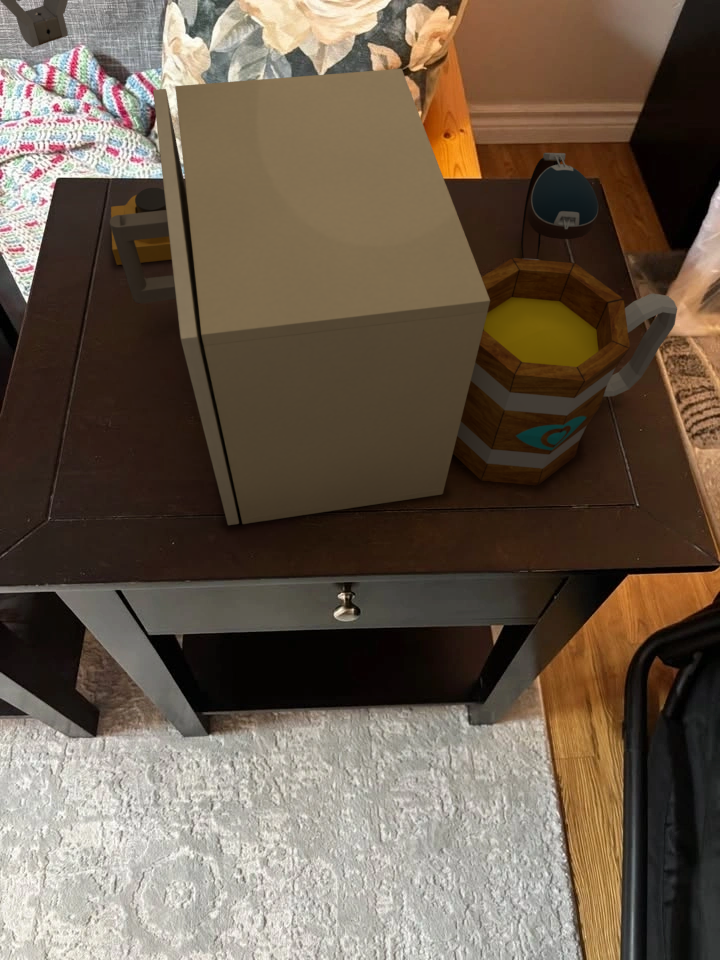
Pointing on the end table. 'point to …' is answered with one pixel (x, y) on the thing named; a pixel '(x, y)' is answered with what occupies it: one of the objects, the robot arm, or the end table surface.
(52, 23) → the robot arm
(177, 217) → the door
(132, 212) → the switch box
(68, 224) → the end table surface
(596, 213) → the headphones
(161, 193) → the button
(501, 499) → the end table surface
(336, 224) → the cupboard
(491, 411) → the mug
